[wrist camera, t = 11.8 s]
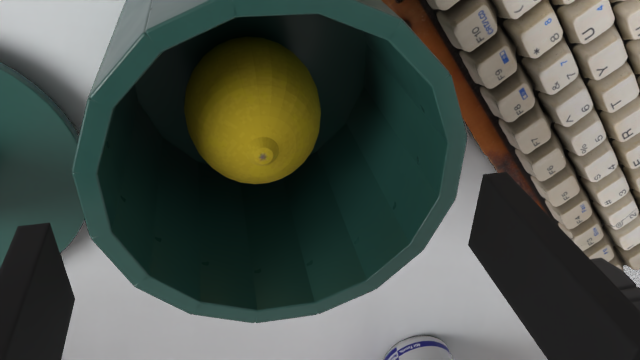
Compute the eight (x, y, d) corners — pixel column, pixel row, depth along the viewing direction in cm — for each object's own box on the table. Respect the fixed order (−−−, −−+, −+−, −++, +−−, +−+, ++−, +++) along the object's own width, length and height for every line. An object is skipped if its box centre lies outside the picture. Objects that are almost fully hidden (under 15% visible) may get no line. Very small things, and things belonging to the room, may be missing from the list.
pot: (141, 186, 28) (119, 343, 20) (89, -70, 21) (20, -3, 13) (367, 165, 30) (437, 298, 22) (386, -74, 24) (497, -19, 15)
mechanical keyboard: (812, 124, 36) (864, 149, 33) (562, 279, 40) (589, 313, 37) (693, -735, 15) (801, -859, 13) (205, -246, 19) (206, -259, 17)
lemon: (204, -4, 23) (209, 62, 17) (319, 37, 25) (364, 110, 19) (171, 107, 26) (164, 202, 19) (279, 136, 28) (306, 232, 21)
